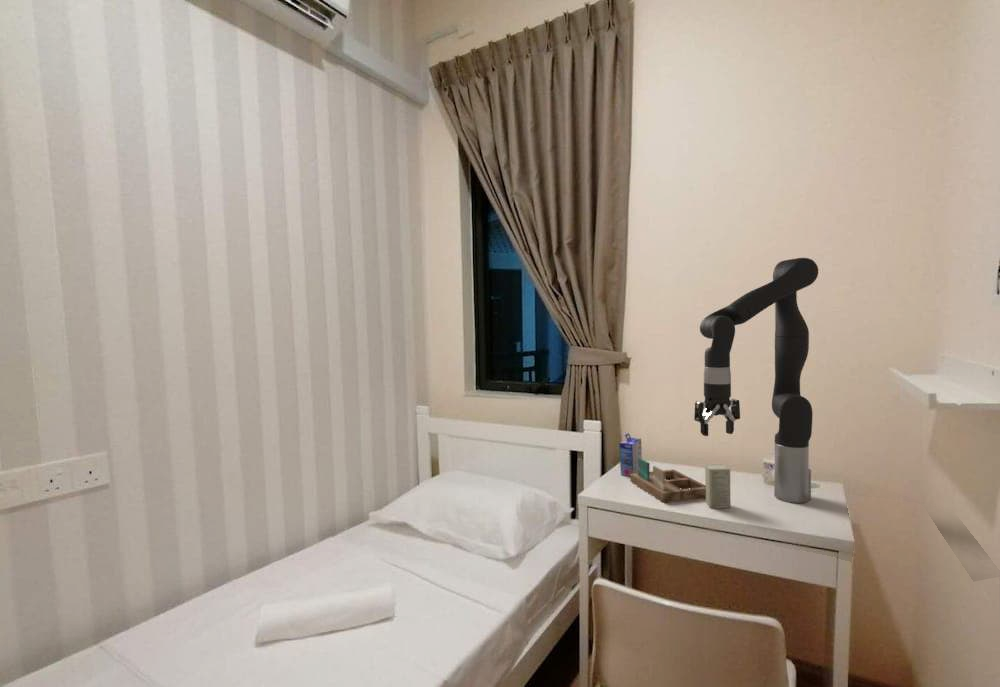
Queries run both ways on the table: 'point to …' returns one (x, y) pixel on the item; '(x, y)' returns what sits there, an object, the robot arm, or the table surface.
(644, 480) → the socket block
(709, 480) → the skincare box
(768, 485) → the table surface
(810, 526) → the table surface
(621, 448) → the ink cartridge box
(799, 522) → the table surface
